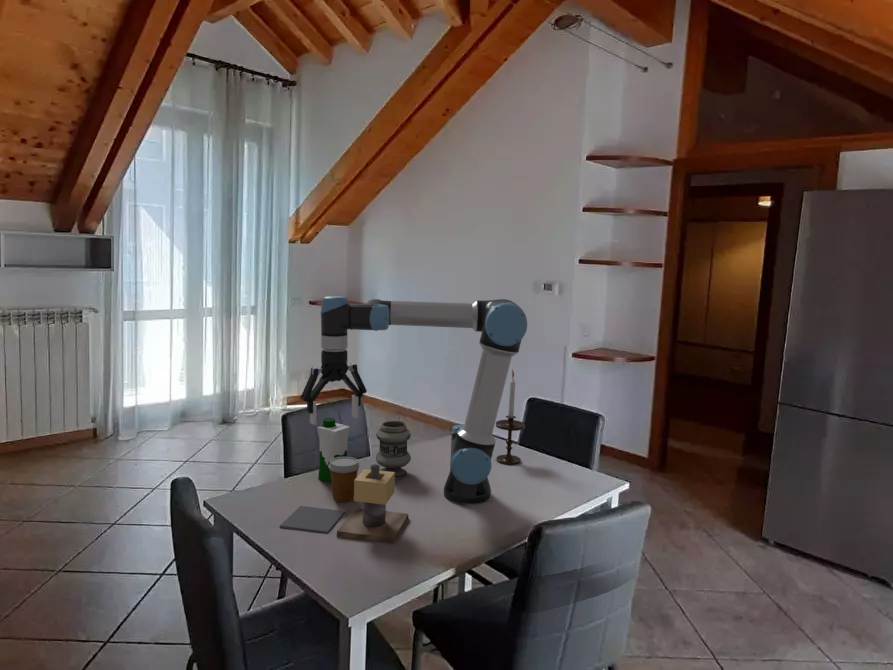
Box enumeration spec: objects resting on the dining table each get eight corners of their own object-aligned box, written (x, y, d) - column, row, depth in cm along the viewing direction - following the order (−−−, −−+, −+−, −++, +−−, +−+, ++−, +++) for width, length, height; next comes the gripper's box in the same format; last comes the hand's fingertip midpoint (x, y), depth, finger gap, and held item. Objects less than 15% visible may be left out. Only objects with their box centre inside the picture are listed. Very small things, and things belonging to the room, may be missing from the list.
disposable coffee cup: (352, 506, 193) (353, 468, 191) (323, 502, 195) (323, 464, 193) (363, 494, 202) (363, 458, 200) (334, 490, 204) (335, 454, 202)
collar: (394, 492, 181) (394, 472, 180) (385, 504, 173) (386, 483, 172) (364, 489, 183) (364, 469, 182) (353, 501, 174) (354, 480, 173)
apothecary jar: (368, 472, 221) (369, 422, 219) (395, 465, 229) (397, 416, 227) (389, 482, 213) (390, 430, 210) (417, 474, 221) (418, 424, 218)
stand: (408, 518, 185) (410, 459, 183) (393, 543, 170) (395, 478, 167) (355, 512, 188) (356, 453, 186) (336, 536, 173) (337, 472, 170)
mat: (344, 512, 188) (345, 511, 188) (327, 533, 174) (327, 531, 174) (300, 507, 190) (300, 505, 190) (279, 527, 177) (279, 525, 177)
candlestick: (491, 456, 243) (496, 366, 238) (519, 456, 245) (524, 366, 240) (496, 465, 233) (501, 372, 228) (525, 465, 234) (531, 372, 229)
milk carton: (332, 471, 220) (332, 415, 218) (352, 477, 216) (353, 420, 213) (314, 479, 213) (314, 421, 210) (334, 485, 208) (335, 426, 206)
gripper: (365, 344, 195) (365, 411, 198) (288, 351, 180) (289, 423, 183) (378, 347, 189) (377, 417, 192) (299, 355, 174) (300, 430, 177)
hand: (334, 420), depth 188 cm, fingers open, 13 cm apart
